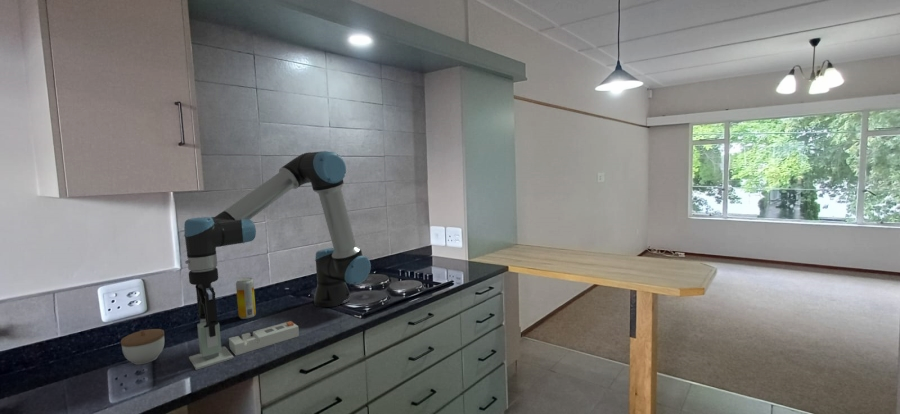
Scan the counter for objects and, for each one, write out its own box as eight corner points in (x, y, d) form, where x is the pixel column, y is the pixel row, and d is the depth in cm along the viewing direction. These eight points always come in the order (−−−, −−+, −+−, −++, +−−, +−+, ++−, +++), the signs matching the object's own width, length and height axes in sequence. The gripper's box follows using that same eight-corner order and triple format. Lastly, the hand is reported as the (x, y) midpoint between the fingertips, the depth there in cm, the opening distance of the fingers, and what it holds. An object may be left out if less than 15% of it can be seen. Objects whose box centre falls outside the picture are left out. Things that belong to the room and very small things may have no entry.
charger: (218, 351, 129) (215, 319, 128) (222, 356, 125) (219, 323, 124) (200, 356, 125) (197, 323, 124) (203, 361, 122) (200, 328, 121)
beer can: (250, 312, 164) (248, 276, 163) (259, 315, 161) (256, 278, 159) (235, 317, 160) (232, 280, 158) (243, 320, 156) (240, 282, 154)
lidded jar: (118, 371, 119) (114, 340, 118) (129, 356, 129) (126, 327, 128) (162, 363, 123) (158, 333, 122) (170, 349, 133) (167, 321, 132)
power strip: (291, 330, 145) (290, 318, 145) (299, 336, 140) (298, 324, 140) (229, 348, 132) (228, 335, 132) (235, 355, 127) (234, 342, 126)
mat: (225, 348, 132) (224, 346, 132) (233, 358, 125) (233, 356, 125) (189, 358, 126) (189, 356, 126) (196, 369, 118) (195, 368, 118)
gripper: (182, 265, 127) (189, 336, 130) (195, 277, 113) (203, 357, 115) (209, 261, 132) (215, 329, 135) (225, 272, 118) (232, 348, 120)
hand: (209, 342), depth 125 cm, fingers open, 7 cm apart
